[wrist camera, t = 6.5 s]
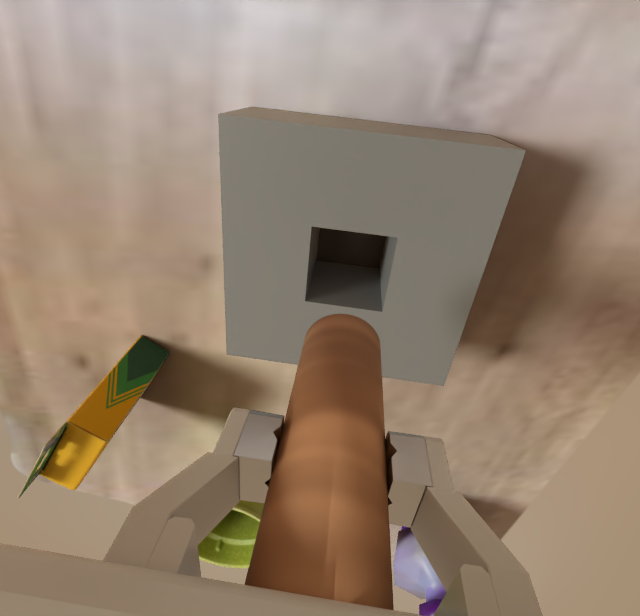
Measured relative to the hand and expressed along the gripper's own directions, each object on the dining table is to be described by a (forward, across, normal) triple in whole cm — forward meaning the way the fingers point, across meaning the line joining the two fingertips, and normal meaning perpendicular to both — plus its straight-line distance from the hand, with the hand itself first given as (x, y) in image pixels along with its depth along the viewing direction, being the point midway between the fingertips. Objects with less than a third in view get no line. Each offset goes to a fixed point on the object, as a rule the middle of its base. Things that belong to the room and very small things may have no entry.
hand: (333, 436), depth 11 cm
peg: (+5, 0, 0) cm, 5 cm away
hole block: (+17, 0, 0) cm, 17 cm away
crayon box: (+18, +17, +15) cm, 29 cm away
